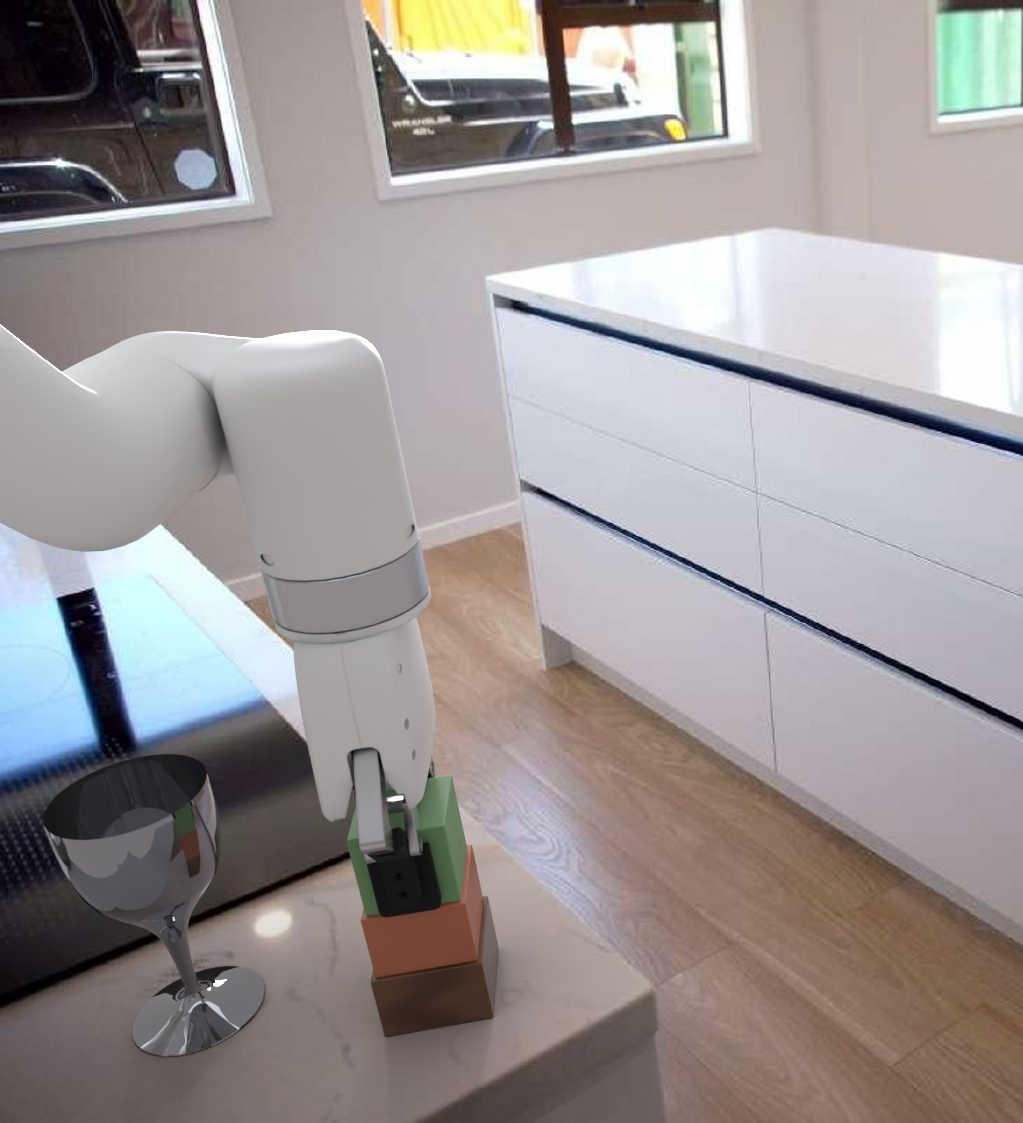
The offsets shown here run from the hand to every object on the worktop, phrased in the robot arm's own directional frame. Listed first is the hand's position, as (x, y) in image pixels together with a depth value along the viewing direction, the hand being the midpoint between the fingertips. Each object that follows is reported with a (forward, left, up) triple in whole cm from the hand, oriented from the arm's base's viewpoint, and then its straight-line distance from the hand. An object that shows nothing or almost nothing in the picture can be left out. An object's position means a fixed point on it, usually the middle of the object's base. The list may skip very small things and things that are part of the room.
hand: (416, 874), depth 71 cm
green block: (0, 0, 0) cm, 0 cm away
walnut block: (0, 0, -8) cm, 8 cm away
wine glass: (-14, +2, -9) cm, 17 cm away
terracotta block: (0, 0, -4) cm, 4 cm away
